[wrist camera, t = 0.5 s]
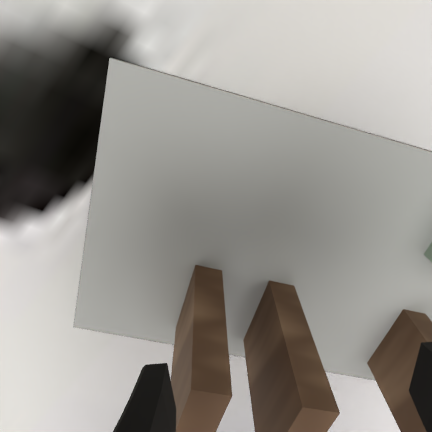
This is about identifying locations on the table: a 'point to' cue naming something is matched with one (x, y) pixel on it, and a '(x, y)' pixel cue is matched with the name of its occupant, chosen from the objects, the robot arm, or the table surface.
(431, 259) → the sage domino
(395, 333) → the domino
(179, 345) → the domino
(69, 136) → the table surface
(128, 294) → the grey mat
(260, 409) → the domino
